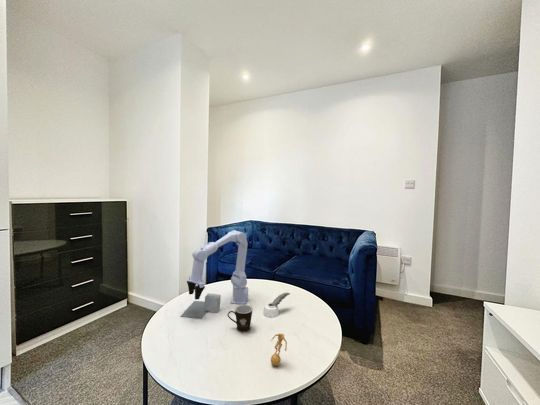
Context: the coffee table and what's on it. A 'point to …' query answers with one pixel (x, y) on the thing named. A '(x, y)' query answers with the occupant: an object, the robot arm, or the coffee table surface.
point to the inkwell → (274, 306)
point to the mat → (195, 310)
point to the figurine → (275, 357)
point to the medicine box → (212, 302)
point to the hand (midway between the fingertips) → (194, 296)
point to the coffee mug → (242, 317)
